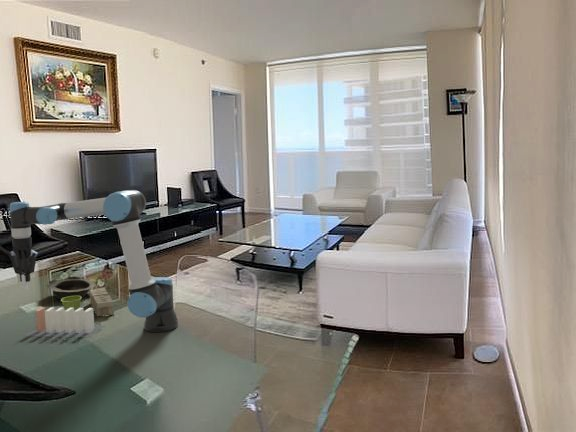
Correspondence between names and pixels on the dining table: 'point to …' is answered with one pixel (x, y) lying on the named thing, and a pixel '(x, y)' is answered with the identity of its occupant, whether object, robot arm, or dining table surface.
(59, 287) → the stone bowl
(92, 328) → the domino
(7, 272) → the dining table surface
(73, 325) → the domino
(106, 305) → the block tower
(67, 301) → the plant pot
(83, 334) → the felt runner
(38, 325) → the domino
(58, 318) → the domino
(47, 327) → the domino
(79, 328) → the domino
